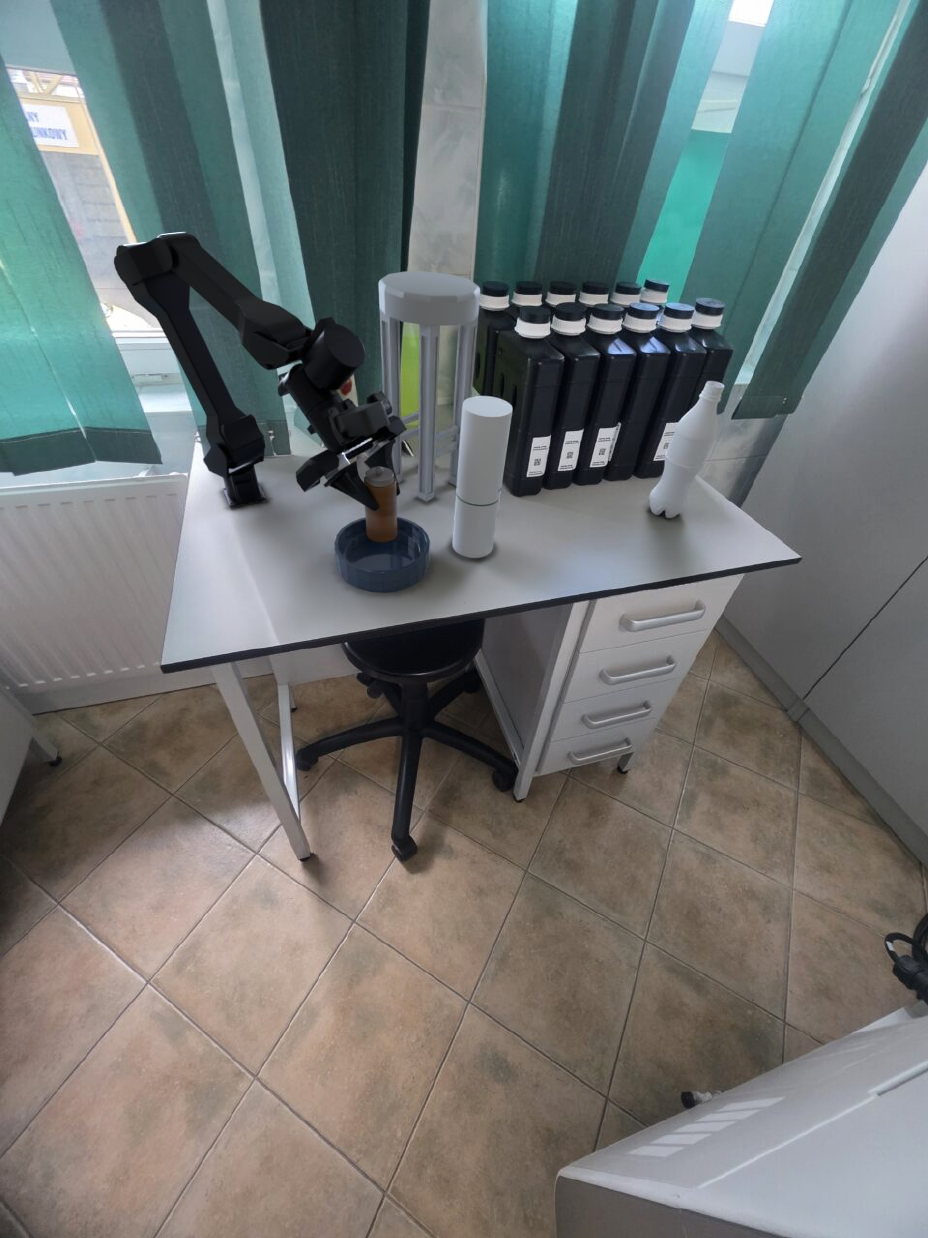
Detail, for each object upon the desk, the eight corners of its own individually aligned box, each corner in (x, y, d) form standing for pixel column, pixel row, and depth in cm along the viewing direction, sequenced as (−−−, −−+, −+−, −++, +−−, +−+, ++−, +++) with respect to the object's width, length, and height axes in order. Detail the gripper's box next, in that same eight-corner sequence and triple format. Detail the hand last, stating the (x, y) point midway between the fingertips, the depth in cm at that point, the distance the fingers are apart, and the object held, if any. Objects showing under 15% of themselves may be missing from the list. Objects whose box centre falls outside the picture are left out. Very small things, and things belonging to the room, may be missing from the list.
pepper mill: (362, 528, 81) (357, 461, 72) (390, 521, 83) (388, 455, 74) (373, 545, 78) (369, 477, 70) (402, 538, 80) (401, 471, 72)
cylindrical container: (497, 541, 91) (518, 402, 74) (485, 564, 86) (504, 420, 69) (460, 531, 93) (471, 392, 75) (446, 553, 88) (455, 410, 70)
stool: (478, 483, 105) (499, 286, 80) (426, 511, 96) (431, 300, 72) (425, 456, 112) (429, 266, 87) (371, 480, 103) (359, 276, 78)
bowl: (324, 549, 86) (321, 527, 83) (406, 528, 92) (406, 507, 89) (356, 605, 77) (354, 583, 74) (444, 578, 83) (446, 557, 80)
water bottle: (643, 514, 101) (692, 386, 84) (647, 497, 106) (695, 373, 88) (679, 524, 100) (737, 396, 82) (682, 507, 105) (737, 382, 87)
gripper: (298, 397, 59) (376, 510, 64) (395, 357, 71) (456, 455, 75) (263, 440, 67) (334, 538, 72) (356, 398, 79) (412, 484, 83)
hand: (387, 502), depth 75 cm, fingers closed on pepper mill, 5 cm apart
